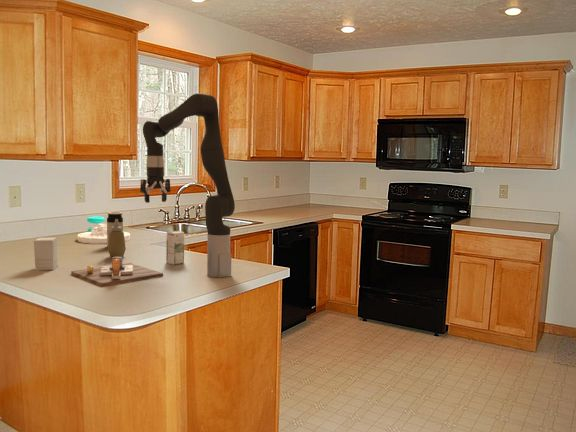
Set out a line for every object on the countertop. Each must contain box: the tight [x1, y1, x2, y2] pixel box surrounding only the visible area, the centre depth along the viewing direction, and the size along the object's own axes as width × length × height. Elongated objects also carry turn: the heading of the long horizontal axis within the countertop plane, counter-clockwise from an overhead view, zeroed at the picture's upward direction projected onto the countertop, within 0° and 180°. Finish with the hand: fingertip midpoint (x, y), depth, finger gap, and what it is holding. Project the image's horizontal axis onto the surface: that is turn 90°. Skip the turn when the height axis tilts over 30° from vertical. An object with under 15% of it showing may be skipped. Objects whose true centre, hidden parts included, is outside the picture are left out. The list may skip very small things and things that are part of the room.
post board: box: [70, 257, 164, 288], centre depth 209 cm, size 26×26×7 cm
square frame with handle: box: [100, 259, 133, 279], centre depth 205 cm, size 19×12×7 cm, turn 16°
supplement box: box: [33, 237, 59, 271], centre depth 217 cm, size 7×7×13 cm
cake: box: [77, 222, 131, 245], centre depth 293 cm, size 28×28×10 cm
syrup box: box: [165, 230, 185, 265], centre depth 234 cm, size 6×6×14 cm
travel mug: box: [106, 211, 124, 247], centre depth 272 cm, size 8×8×18 cm
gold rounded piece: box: [86, 265, 94, 274], centre depth 205 cm, size 2×2×3 cm
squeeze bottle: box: [107, 219, 127, 258], centre depth 244 cm, size 8×8×18 cm
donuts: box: [86, 215, 105, 232], centre depth 314 cm, size 10×10×10 cm
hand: (155, 202), depth 235 cm, fingers open, 8 cm apart
